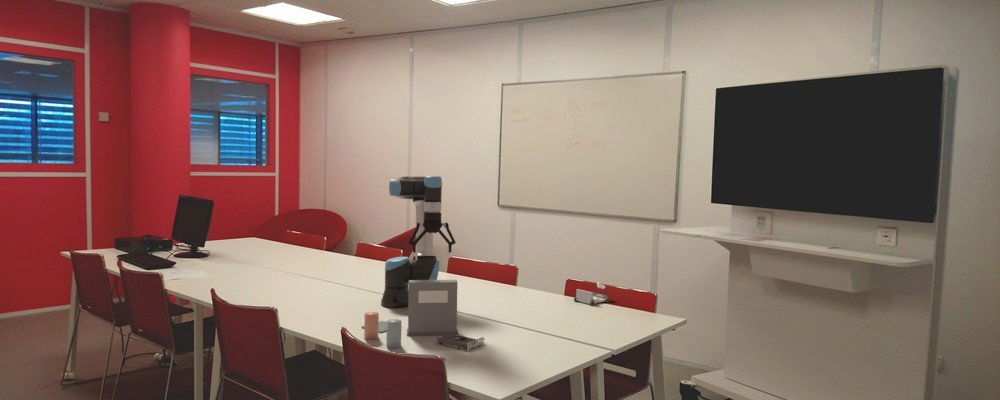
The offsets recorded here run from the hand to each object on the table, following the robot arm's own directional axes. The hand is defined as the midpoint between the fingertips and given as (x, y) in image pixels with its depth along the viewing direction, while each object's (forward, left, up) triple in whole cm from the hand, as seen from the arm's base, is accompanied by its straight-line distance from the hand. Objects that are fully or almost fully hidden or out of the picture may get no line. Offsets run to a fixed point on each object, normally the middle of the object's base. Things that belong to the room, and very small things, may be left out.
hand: (431, 260), depth 265 cm
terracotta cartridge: (-5, -30, -29) cm, 42 cm away
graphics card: (+28, -13, -29) cm, 43 cm away
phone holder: (+34, +88, -29) cm, 99 cm away
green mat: (-13, -17, -29) cm, 36 cm away
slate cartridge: (+10, -32, -29) cm, 44 cm away
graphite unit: (+9, -9, -29) cm, 31 cm away
